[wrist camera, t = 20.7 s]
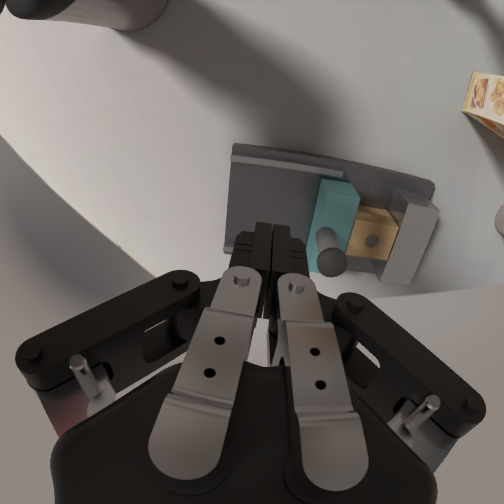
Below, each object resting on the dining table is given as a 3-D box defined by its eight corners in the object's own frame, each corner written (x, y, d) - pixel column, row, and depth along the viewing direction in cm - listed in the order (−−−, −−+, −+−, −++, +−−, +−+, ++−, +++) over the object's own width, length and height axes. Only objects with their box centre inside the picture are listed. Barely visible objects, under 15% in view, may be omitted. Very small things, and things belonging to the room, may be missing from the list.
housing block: (338, 235, 42) (345, 255, 37) (347, 202, 39) (355, 220, 35) (377, 241, 42) (386, 260, 37) (387, 210, 39) (399, 227, 35)
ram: (301, 250, 43) (306, 302, 34) (316, 177, 37) (330, 214, 28) (332, 254, 43) (344, 306, 34) (351, 183, 37) (374, 222, 28)
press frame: (225, 247, 46) (218, 273, 41) (234, 143, 37) (226, 155, 32) (397, 271, 46) (409, 296, 40) (430, 180, 37) (451, 198, 32)
